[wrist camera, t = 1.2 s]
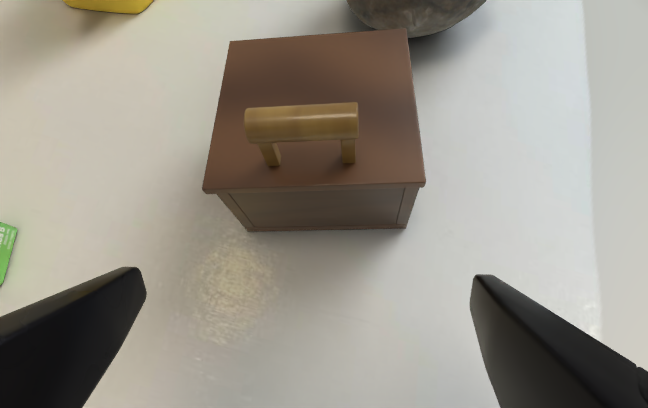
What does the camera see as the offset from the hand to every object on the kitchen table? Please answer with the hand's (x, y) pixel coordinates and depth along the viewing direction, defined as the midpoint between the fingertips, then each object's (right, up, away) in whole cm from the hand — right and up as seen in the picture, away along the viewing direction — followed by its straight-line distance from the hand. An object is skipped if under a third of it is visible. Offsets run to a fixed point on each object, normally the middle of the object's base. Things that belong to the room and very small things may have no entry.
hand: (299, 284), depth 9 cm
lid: (0, +8, +11) cm, 14 cm away
